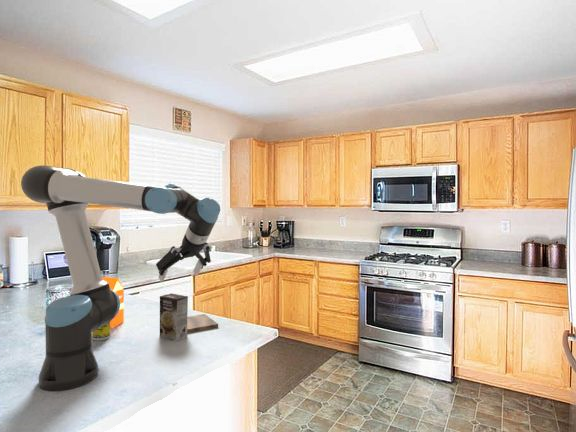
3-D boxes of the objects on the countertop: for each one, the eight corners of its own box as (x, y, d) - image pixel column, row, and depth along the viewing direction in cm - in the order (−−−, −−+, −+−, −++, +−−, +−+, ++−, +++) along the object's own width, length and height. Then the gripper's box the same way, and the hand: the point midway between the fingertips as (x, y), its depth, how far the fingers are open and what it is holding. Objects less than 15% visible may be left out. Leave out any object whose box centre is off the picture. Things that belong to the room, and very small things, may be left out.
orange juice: (112, 327, 153) (112, 279, 152) (93, 325, 154) (93, 278, 154) (124, 321, 160) (124, 276, 160) (106, 320, 162) (106, 275, 161)
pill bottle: (90, 341, 137) (90, 312, 136) (94, 335, 142) (94, 307, 142) (108, 340, 138) (108, 311, 138) (111, 334, 144) (111, 306, 144)
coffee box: (158, 337, 142) (158, 296, 141) (171, 332, 148) (171, 292, 147) (176, 341, 138) (176, 299, 137) (188, 336, 143) (188, 295, 143)
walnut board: (180, 334, 145) (180, 330, 145) (169, 323, 159) (169, 319, 159) (218, 327, 154) (218, 323, 154) (204, 317, 167) (204, 314, 167)
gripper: (164, 249, 113) (148, 290, 125) (231, 241, 130) (212, 278, 142) (156, 232, 117) (141, 273, 129) (222, 227, 134) (204, 264, 145)
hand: (178, 276), depth 135 cm, fingers open, 13 cm apart
